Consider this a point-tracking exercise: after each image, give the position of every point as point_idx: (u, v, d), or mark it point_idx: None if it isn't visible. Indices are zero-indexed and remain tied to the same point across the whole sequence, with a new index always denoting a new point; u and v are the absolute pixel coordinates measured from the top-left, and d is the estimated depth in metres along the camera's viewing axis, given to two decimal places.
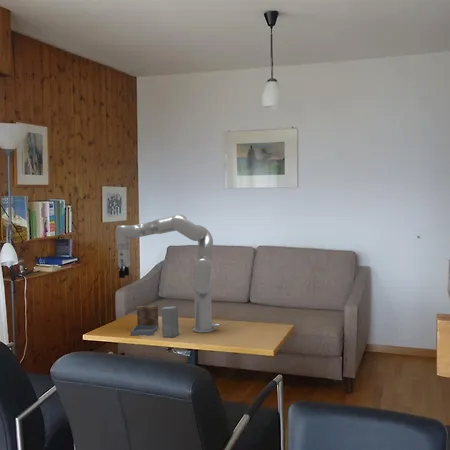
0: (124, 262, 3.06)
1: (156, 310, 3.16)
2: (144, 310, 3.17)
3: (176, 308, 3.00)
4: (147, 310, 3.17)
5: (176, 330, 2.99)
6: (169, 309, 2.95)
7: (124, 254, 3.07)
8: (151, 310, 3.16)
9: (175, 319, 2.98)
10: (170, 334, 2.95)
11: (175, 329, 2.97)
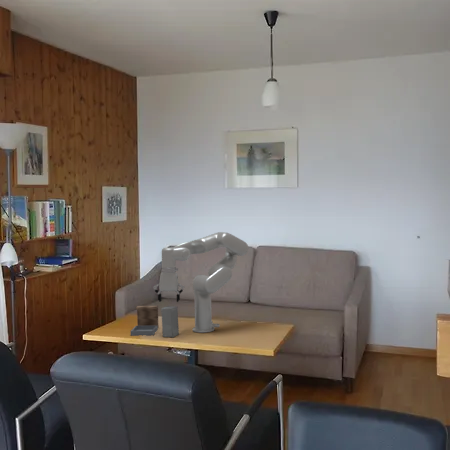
0: None
1: (156, 310, 3.16)
2: (144, 310, 3.17)
3: (176, 308, 3.00)
4: (147, 310, 3.17)
5: (176, 330, 2.99)
6: (169, 309, 2.95)
7: (177, 277, 3.00)
8: (151, 310, 3.16)
9: (174, 319, 2.98)
10: (170, 334, 2.95)
11: (175, 329, 2.97)
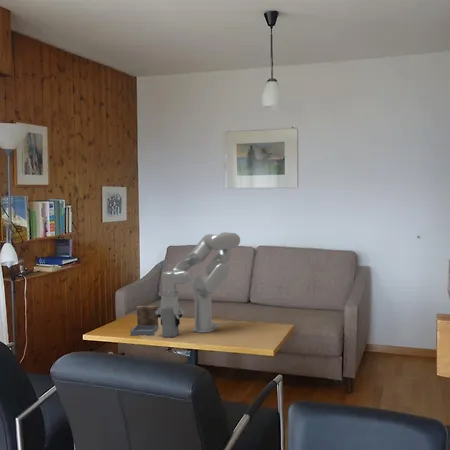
0: None
1: None
2: (144, 310, 3.17)
3: None
4: (147, 310, 3.17)
5: (176, 330, 2.99)
6: (169, 309, 2.95)
7: (178, 300, 3.00)
8: (151, 310, 3.16)
9: (174, 319, 2.98)
10: (170, 334, 2.95)
11: (175, 329, 2.97)
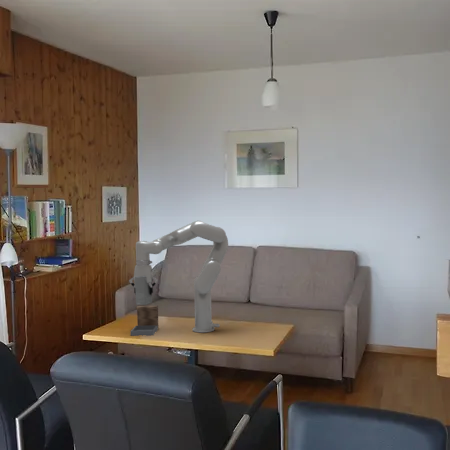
0: None
1: (156, 310, 3.16)
2: (144, 310, 3.17)
3: None
4: (147, 310, 3.17)
5: (150, 299, 3.06)
6: (142, 277, 3.02)
7: (151, 269, 3.07)
8: (151, 310, 3.16)
9: (148, 287, 3.05)
10: (143, 302, 3.02)
11: (148, 297, 3.05)
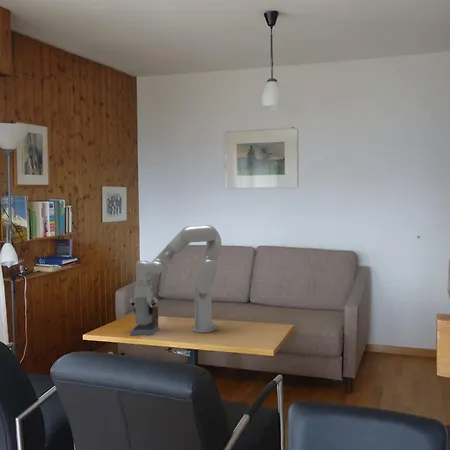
0: None
1: (156, 310, 3.16)
2: None
3: None
4: None
5: (150, 318, 3.07)
6: (142, 297, 3.03)
7: None
8: None
9: (148, 307, 3.05)
10: (143, 322, 3.02)
11: (148, 317, 3.05)
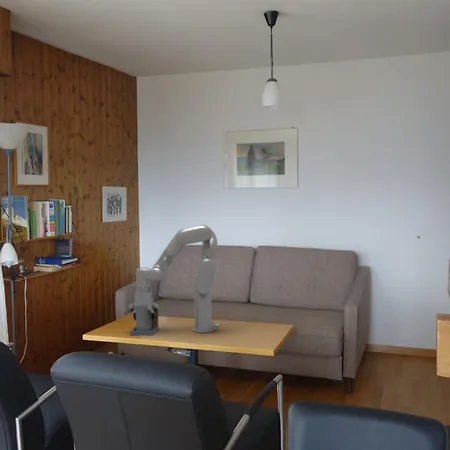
0: None
1: (156, 310, 3.16)
2: None
3: None
4: None
5: (150, 327, 3.07)
6: (143, 306, 3.03)
7: None
8: None
9: (148, 316, 3.06)
10: (143, 330, 3.03)
11: (148, 325, 3.06)
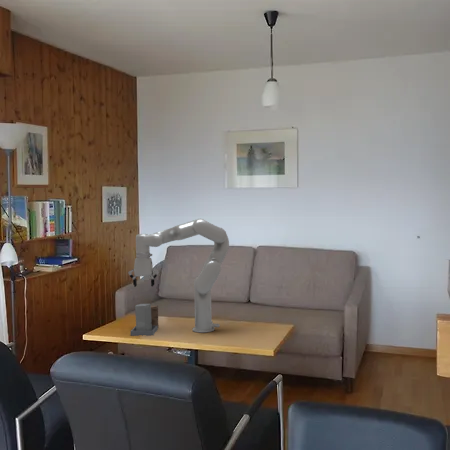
0: None
1: (156, 310, 3.16)
2: None
3: (149, 305, 3.08)
4: None
5: (150, 327, 3.07)
6: (143, 306, 3.03)
7: None
8: (151, 310, 3.16)
9: (148, 316, 3.06)
10: None
11: (148, 325, 3.06)
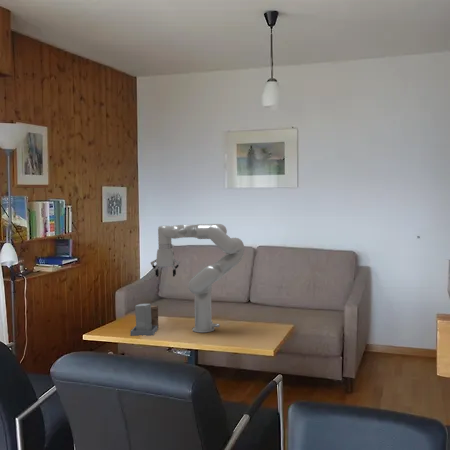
0: None
1: (156, 310, 3.16)
2: None
3: (149, 305, 3.08)
4: None
5: (150, 327, 3.07)
6: (143, 306, 3.03)
7: (173, 253, 3.17)
8: (151, 310, 3.16)
9: (148, 316, 3.06)
10: None
11: (148, 325, 3.06)
